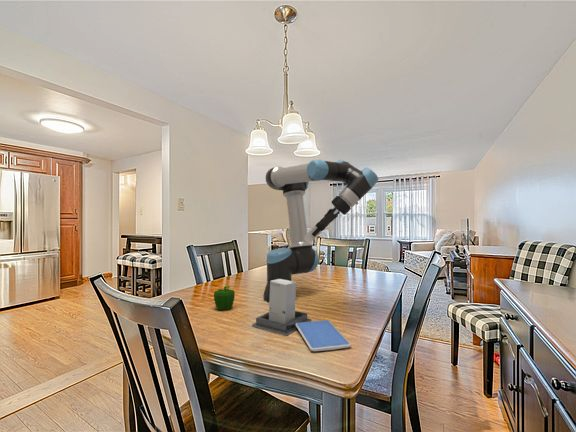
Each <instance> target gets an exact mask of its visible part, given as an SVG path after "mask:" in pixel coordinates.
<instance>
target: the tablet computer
mask: <svg viewBox="0 0 576 432" xmlns="http://www.w3.org/2000/svg"><path fill="white" fill-rule="evenodd" d="M295 326H296V327H297V329H298V332H299V333H300V335H301V337H302V338H303V339H304V341H305V343H306V344H307V346H308V348H309V350H310V351H311V352H324V351H332V350H340V349H345V348H351V346H352V344H351V343H350V341H348V339H346V337H345V336H344V335H343V334H342V333H341V332H340V331H339V330H338V329H337V328H336V327H335V325H333V323H332V322H331V321H330V320H328V319H326V320H315V321H314V320H313V321H312V320H311V322H300V323H296V324H295Z"/></svg>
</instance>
